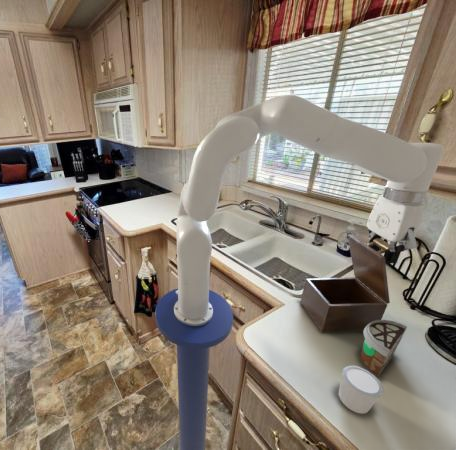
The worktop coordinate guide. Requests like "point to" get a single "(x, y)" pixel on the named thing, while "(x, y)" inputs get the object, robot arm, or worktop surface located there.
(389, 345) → the food container
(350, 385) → the white tapered cup
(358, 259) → the chest lid
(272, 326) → the worktop surface
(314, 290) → the chest
